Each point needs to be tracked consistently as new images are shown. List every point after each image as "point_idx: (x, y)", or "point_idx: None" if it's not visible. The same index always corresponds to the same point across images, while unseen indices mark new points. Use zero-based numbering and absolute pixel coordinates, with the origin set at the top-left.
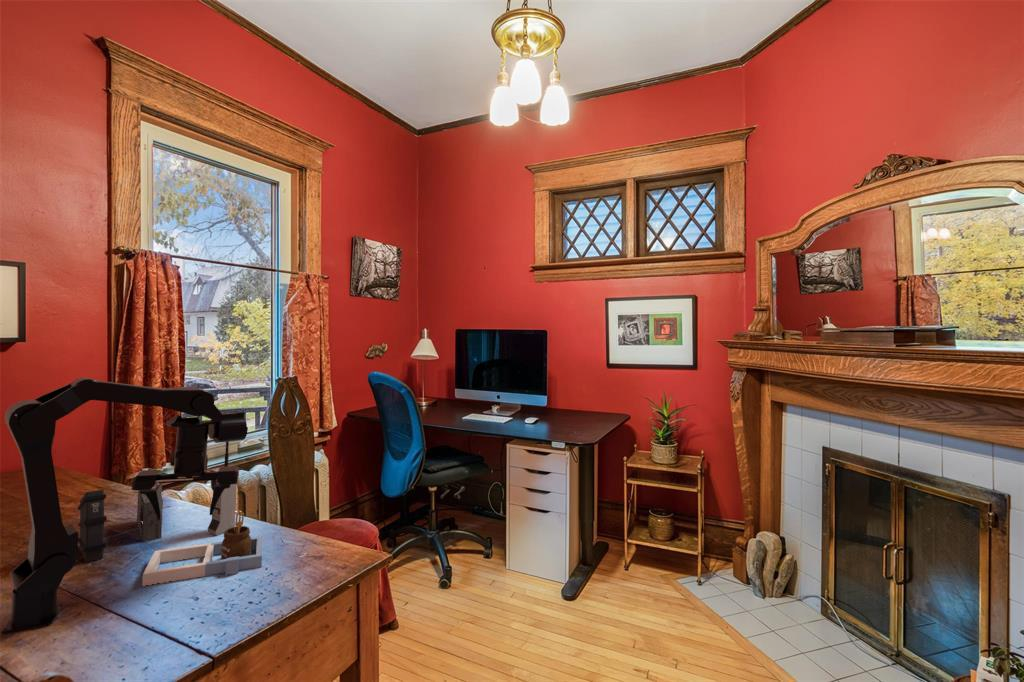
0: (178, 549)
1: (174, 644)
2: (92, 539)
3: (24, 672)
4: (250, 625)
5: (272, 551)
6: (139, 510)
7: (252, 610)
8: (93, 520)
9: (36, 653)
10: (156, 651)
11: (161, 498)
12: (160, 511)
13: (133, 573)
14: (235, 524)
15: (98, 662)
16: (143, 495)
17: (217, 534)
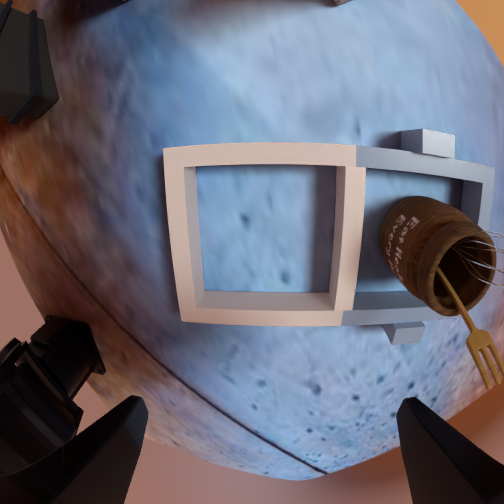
0: (241, 163)
1: (290, 459)
2: (3, 109)
3: (146, 438)
4: (375, 449)
5: None
6: None
7: (388, 429)
8: None
9: None
10: (271, 462)
11: (81, 484)
12: (135, 458)
13: (144, 213)
14: (468, 348)
15: (213, 456)
16: None
17: (342, 2)
